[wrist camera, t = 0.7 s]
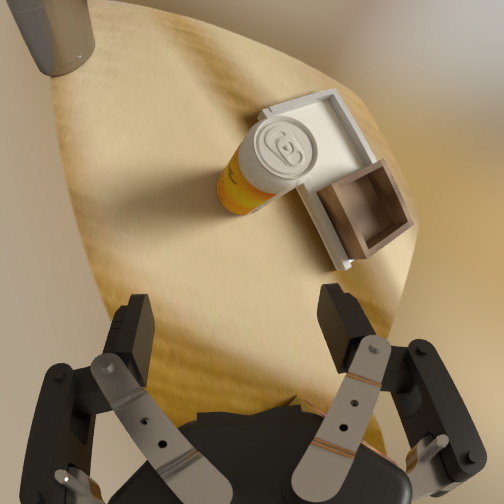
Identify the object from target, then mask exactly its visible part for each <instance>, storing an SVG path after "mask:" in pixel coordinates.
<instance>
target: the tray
mask: <svg viewBox="0 0 504 504" xmlns="http://www.w3.org/2000/svg"><path fill="white" fill-rule="evenodd" d="M273 116H288V117H292V118H294V119H297V120H298V121H300V122H302V123H303V124H304V125H305V126H306V127H307V128H308V129H309V130H310V131H311V132H312V134H313V136H314V137H315V140H316V142H317V146H318V159H317V162H316V165H315V169H314V171H313V173H312V175H311V176H310V177H309V178H308V179H307V180H306V181H305V182H304V183H302V184H301V185H299V186H297V187H296V190H297V192H298V194H299V196H300V197H301V199H302V201H303V203H304V205H305V207H306V209H307V211H308V213H309V215H310V217H311V219H312V221H313V223H314V225H315V227H316V229H317V231H318V233H319V235H320V237H321V239H322V241H323V243H324V245H325V247H326V250H327V252H328V254H329V256H330V258H331V260H332V262H333V264H334V266H335V269H336V270H347V269H349V268H350V267H352V266H351V264H350V262H352V261H353V260H349V259H348V257H347V255H346V253H345V251H344V248H343V246H342V244H341V242H340V240H339V238H338V236H337V234H336V231H335V229H334V227H333V225H332V223H331V221H330V219H329V217H328V215H327V213H326V211H325V209H324V207H323V205H322V203H321V201H320V199H319V197H318V195H317V193H316V192H317V191H319V190H321V189H323V188H325V187H327V186H329V185H331V184H333V183H335V182H337V181H339V180H341V179H343V178H345V177H347V176H349V175H351V174H353V173H355V172H357V171H359V170H361V169H363V168H365V167H367V166H369V165H371V164H373V163H375V162H377V160H376V158H375V157H374V155H373V153H372V151H371V149H370V147H369V145H368V143H367V141H366V140H365V138H364V136H363V134H362V132H361V130H360V129H359V127H358V125H357V123H356V122H355V120H354V118H353V116H352V115H351V113H350V111H349V110H348V108H347V106H346V105H345V103H344V101H343V100H342V98H341V97H340V95H339V93H338V92H337V90H336V89H335V88H334V89H328V90H325V91H321V92H317V93H313V94H310V95H306V96H303V97H299V98H296V99H293V100H289V101H286V102H283V103H280V104H277V105H273V106H270V107H269V108H266V109H263V110H262V111H261V112H260V114H259V115H258V117H257V119H258V121H261V120H263V119H266V118H270V117H273Z"/></svg>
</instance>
